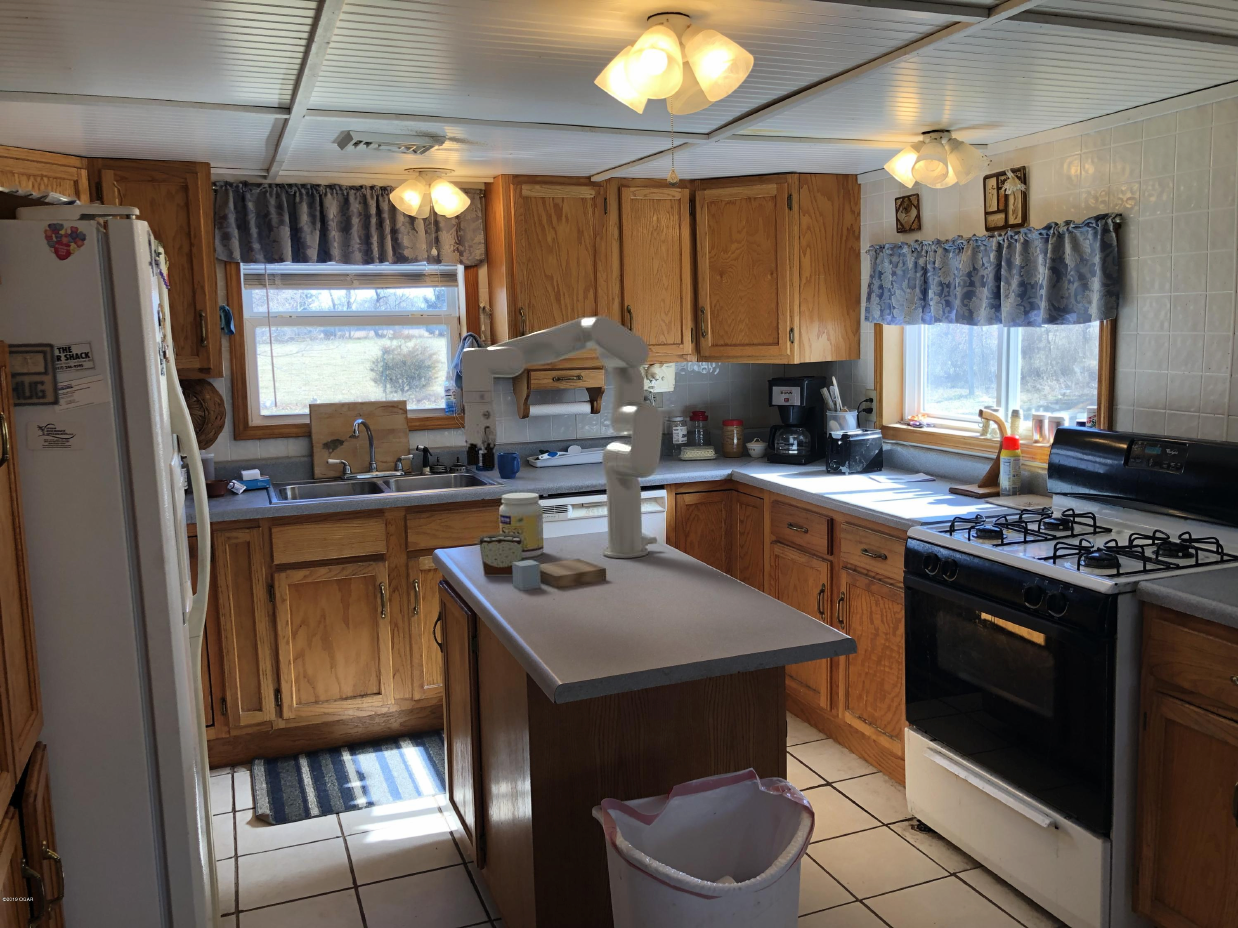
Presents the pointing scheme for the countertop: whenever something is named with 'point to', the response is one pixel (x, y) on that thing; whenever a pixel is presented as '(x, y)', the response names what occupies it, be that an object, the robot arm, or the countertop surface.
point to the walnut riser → (571, 573)
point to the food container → (500, 553)
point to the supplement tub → (523, 521)
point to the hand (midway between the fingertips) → (480, 467)
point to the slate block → (526, 575)
